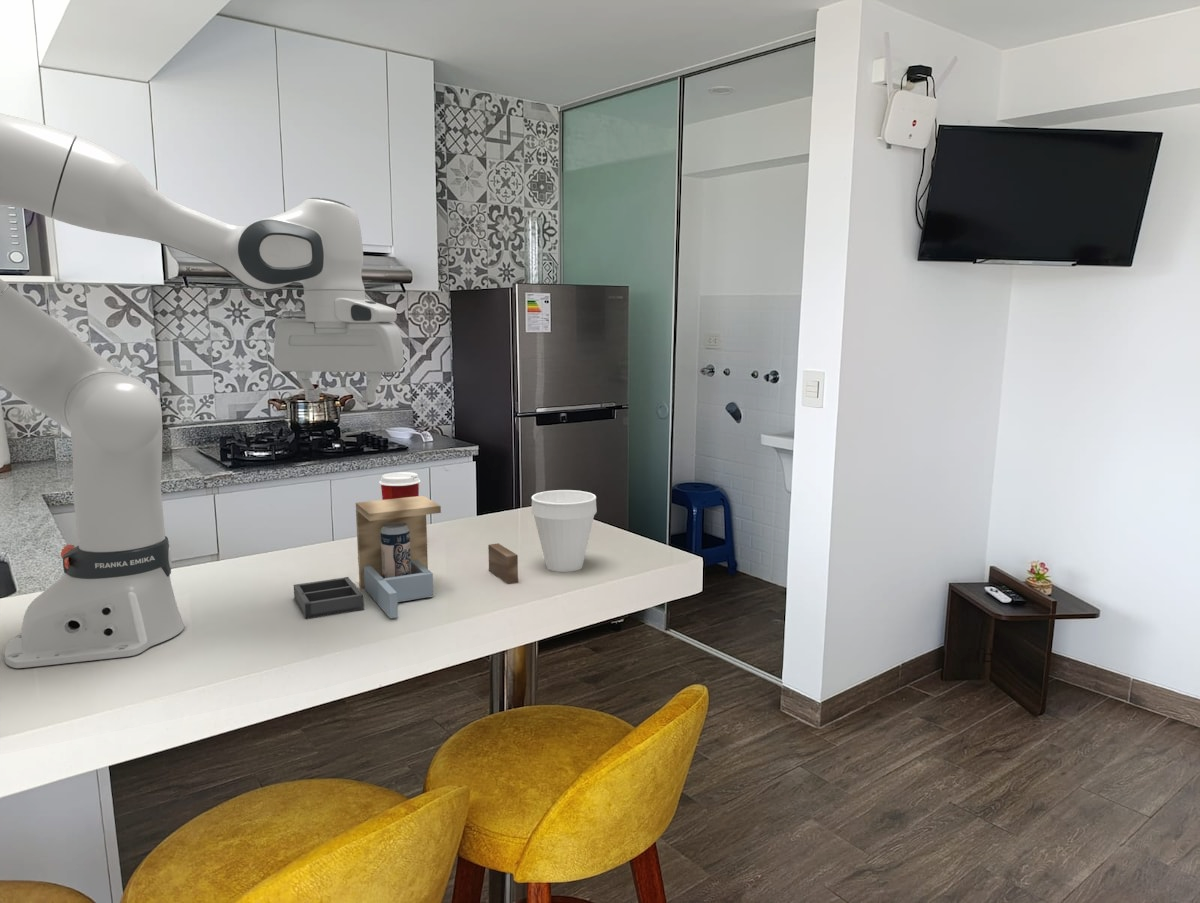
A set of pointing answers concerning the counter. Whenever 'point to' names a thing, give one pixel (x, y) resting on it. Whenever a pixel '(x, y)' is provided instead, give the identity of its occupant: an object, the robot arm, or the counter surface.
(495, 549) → the end stop
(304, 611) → the tray
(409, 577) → the blue grey drawer
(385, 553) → the beer can
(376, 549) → the tunnel
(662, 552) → the counter surface
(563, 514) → the cup
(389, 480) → the coffee cup
